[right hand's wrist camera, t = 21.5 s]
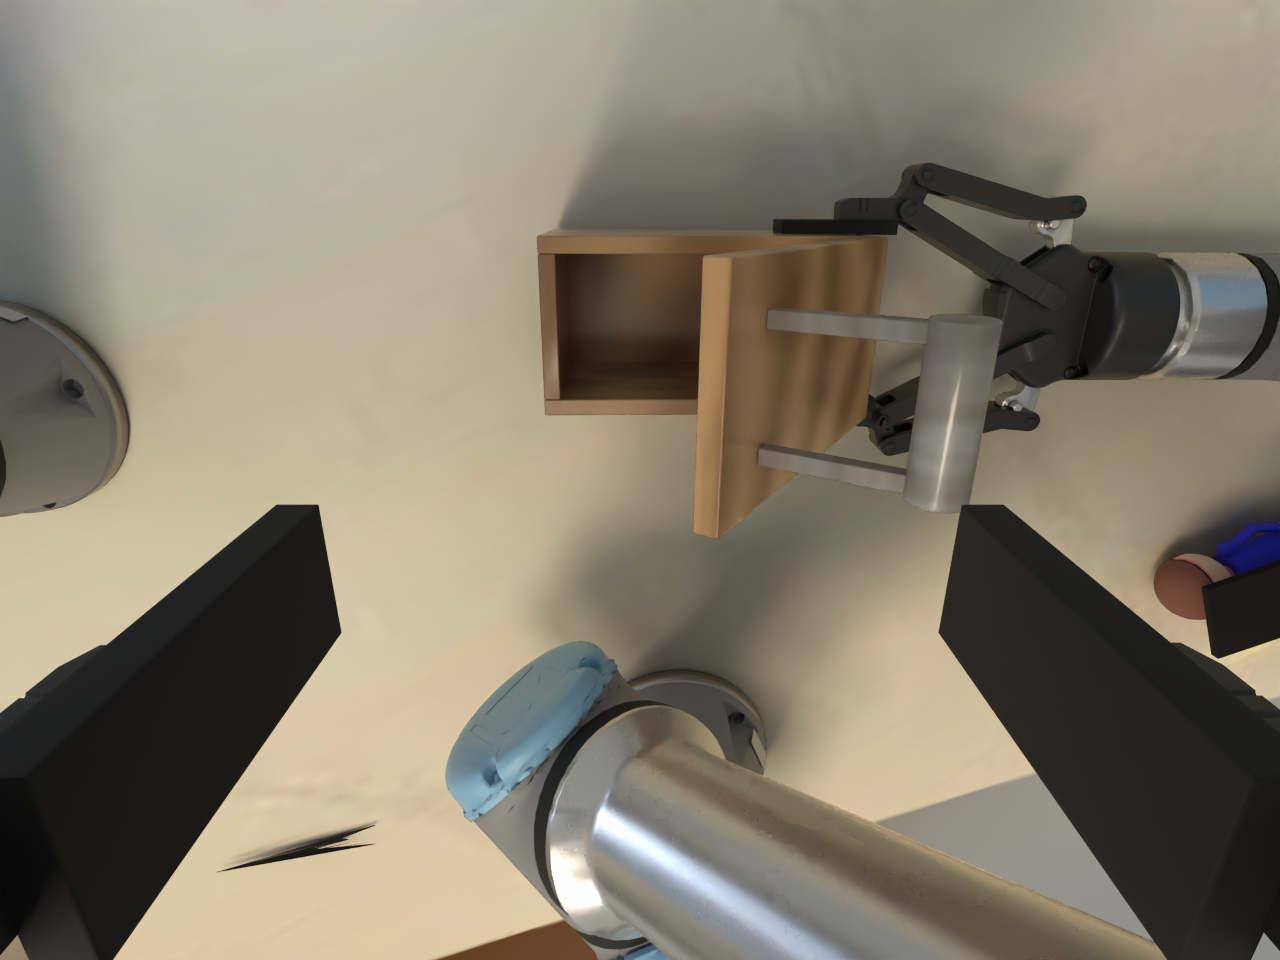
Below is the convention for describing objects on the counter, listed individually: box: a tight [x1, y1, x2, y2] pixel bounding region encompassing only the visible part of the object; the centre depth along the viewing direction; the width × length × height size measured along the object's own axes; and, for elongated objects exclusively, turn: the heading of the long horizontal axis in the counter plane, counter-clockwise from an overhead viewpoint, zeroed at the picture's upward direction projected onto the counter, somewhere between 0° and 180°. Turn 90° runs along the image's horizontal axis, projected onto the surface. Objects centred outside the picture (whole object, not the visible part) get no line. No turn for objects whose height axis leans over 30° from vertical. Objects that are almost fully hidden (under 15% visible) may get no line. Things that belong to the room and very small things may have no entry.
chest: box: [537, 229, 873, 415], centre depth 43 cm, size 18×10×11 cm, turn 90°
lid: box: [694, 237, 1003, 539], centre depth 29 cm, size 18×10×8 cm
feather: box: [219, 825, 375, 872], centre depth 67 cm, size 2×28×2 cm
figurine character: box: [1154, 521, 1280, 659], centre depth 53 cm, size 7×8×15 cm
